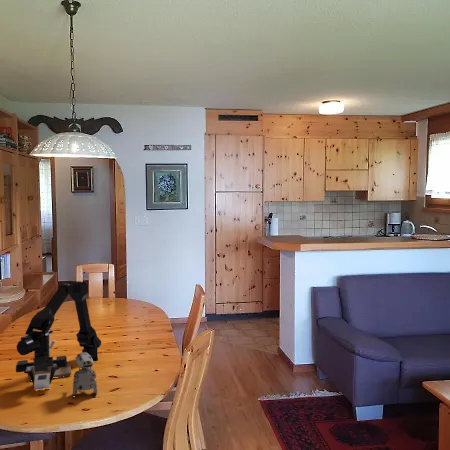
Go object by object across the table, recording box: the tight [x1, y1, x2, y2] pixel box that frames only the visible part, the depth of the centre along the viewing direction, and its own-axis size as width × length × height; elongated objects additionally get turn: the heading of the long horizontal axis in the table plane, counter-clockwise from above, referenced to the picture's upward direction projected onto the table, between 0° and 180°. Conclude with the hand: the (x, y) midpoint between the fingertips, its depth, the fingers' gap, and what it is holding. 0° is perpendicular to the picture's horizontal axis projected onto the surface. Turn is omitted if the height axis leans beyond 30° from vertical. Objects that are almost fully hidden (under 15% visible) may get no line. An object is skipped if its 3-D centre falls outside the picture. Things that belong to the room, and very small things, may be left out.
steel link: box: [33, 373, 51, 390], centre depth 175 cm, size 6×7×4 cm
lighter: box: [49, 339, 57, 352], centre depth 208 cm, size 7×2×8 cm, turn 99°
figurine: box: [71, 352, 98, 397], centre depth 170 cm, size 9×12×15 cm
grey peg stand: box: [29, 361, 72, 381], centre depth 189 cm, size 16×14×8 cm
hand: (42, 384), depth 176 cm, fingers closed on steel link, 6 cm apart
